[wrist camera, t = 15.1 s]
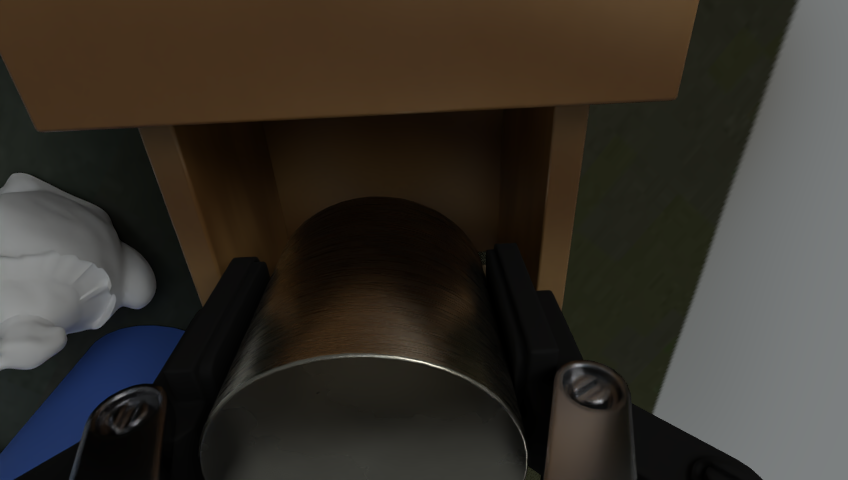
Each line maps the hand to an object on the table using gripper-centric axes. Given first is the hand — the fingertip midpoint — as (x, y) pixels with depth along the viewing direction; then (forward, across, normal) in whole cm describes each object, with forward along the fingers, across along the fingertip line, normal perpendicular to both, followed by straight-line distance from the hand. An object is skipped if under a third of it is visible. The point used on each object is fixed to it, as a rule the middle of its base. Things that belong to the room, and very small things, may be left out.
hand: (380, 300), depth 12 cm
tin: (+1, 0, 0) cm, 1 cm away
